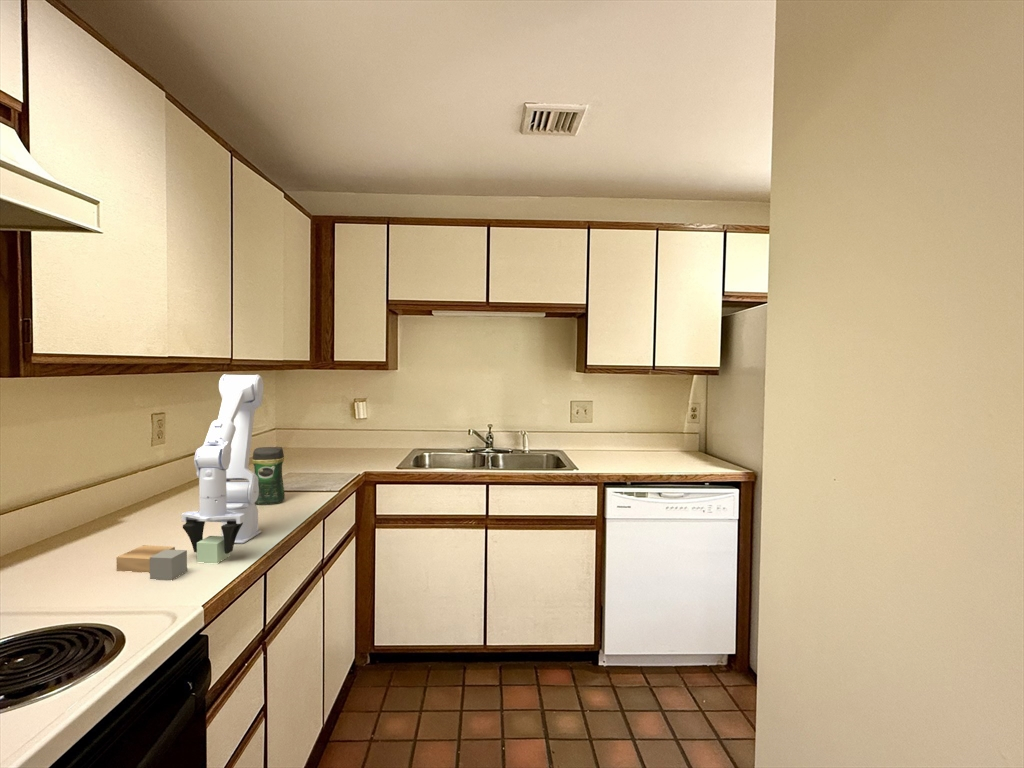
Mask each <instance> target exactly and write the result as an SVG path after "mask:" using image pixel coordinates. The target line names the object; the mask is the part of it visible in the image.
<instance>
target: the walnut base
mask: <svg viewBox="0 0 1024 768" xmlns="http://www.w3.org/2000/svg"><path fill="white" fill-rule="evenodd" d="M165 549H169V550H176V546H166V545H165V546H163V545H146V544H144V545H141V546H138V547H136V548H134V549H132V550H130V551H128V552H125V553H123V554H120V555H119V556H116V572H125V571H132V572H131V573H142V572H149V573H148V574H150V557H151V556H153V555H155V554H157V553H159V552H161V551H163V550H165Z"/></svg>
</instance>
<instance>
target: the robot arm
mask: <svg viewBox="0 0 1024 768" xmlns="http://www.w3.org/2000/svg"><path fill="white" fill-rule="evenodd" d="M264 386H265V385H264V381H263V378H262V376H261V375H260V374H227V373H225V374H223V375H222V376H221V377H220V379H219V381H218V390H219V394H220V397H221V404H220V408H219V414H218V417H217V419H215V420H213V421H212V422H211V424H210V425H209V428H208V432H207V434H206V437H205V438H204V439H205V440H204V443H203V444H202V445H201V446H200V447H198V448H197V449H196V451H195V453H194V461H193V463H194V468H195V470H196V477H197V478H198V481H199V482H198V484H199V485H198V488H199V491H198V492H199V493H198V496H199V498H198V499H199V505H198V506H199V510H197V511H185V512H183V513H181V522H185V523H184V524H182V529H183V530H184V531H185V533H186V534H187V536H188V538H189V540H190V542H191V546H192V548H193V553H197V542H199V541H201V540H203V539H204V538H203V535H204V529H205V525H206V522H209V523H221V526H220V527H221V536H224V551H225V554H228V553H230V554H231V552H233V551H234V550H233V549H234V545H235V544H244V543H246V542H248V541H249V540H251V539H253V538H254V537H256V536H258V535H260V534H261V533H262V530H259V508H258V506H257V504H255V502H256V501H257V498H258V494H259V486H258V477H257V475H256V474H255V472H253V471H252V470H251V469H250V468H249V465H250V455H251V447H252V438H253V427H254V419H255V413H256V409H258V408H259V407H262V402H263V398H264Z"/></svg>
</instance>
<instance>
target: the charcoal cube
mask: <svg viewBox="0 0 1024 768" xmlns="http://www.w3.org/2000/svg"><path fill="white" fill-rule="evenodd" d="M187 550H188V549H175V550H169V549H165V550H163V551H161V552H159V553H157V554H155V555H153V556H151V557H150V573H149V580H150V579H156V581H171V580H172V581H174V580H175V579H177V578H179V577H180V576H179V575H181V574H182V573H184V572H186V571H187V572H188V551H187ZM187 572H186V573H187ZM184 574H185V573H184ZM182 575H183V574H182ZM182 575H181V576H182ZM178 576H179V577H178ZM176 577H177V578H176ZM174 578H175V579H174ZM173 579H174V580H173Z"/></svg>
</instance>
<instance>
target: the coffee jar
mask: <svg viewBox="0 0 1024 768" xmlns="http://www.w3.org/2000/svg"><path fill="white" fill-rule="evenodd" d="M251 461H252V464H253V468H254V473H255V474H256V475H257V477H258V486H259V494H258V498H257V501H256V502H255V503H254V504H255V505H273V504H274V505H275V504H276V505H277V504H279V503H282V502H284V500H285V496H286V495H285V488H284V487H285V486H284V481H283V463H284V461H285V454H284V449H283V447H282V446H263V447H256V448H255V449H253V453H252V458H251Z"/></svg>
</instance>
